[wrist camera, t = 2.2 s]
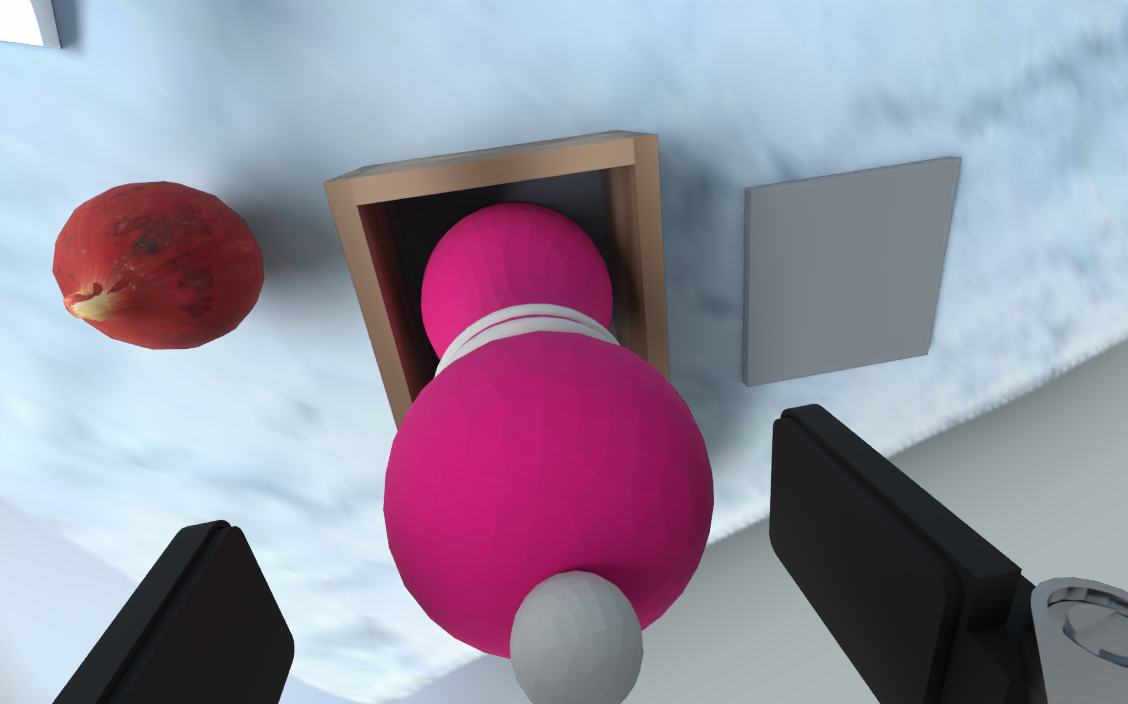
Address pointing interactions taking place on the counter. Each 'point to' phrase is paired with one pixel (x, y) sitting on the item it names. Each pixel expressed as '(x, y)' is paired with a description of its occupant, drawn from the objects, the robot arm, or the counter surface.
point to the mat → (844, 268)
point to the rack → (371, 189)
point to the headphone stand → (28, 22)
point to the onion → (158, 265)
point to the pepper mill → (542, 463)
